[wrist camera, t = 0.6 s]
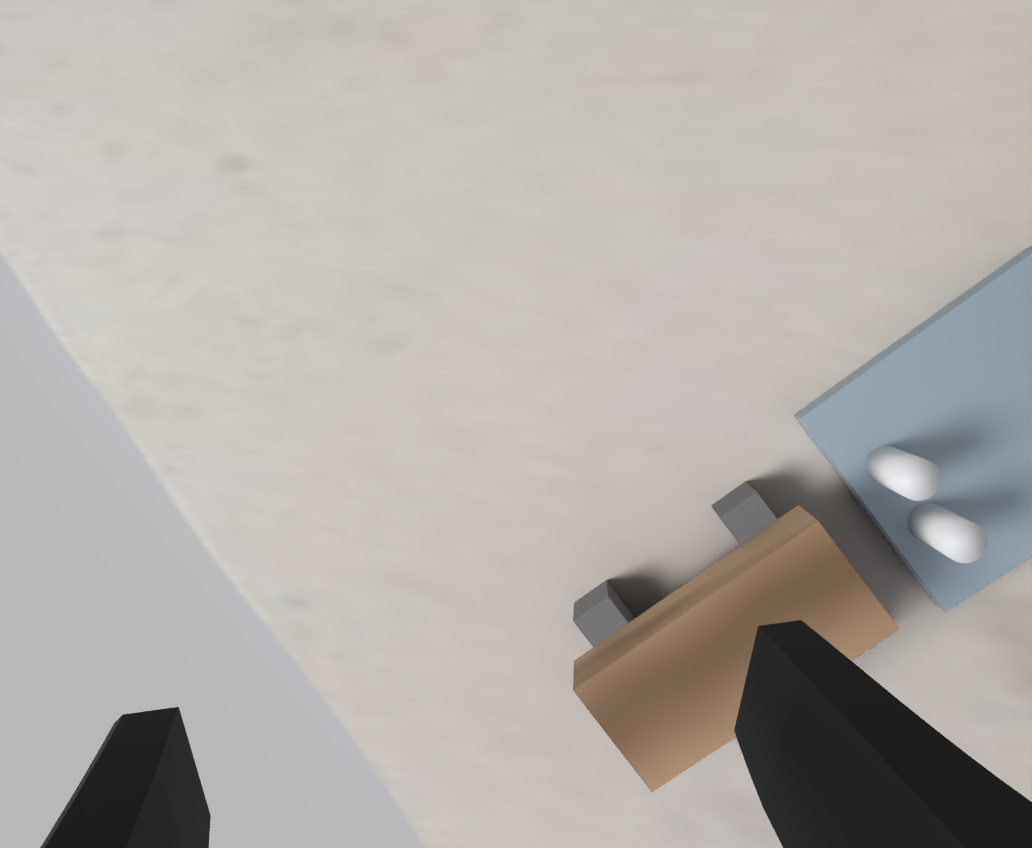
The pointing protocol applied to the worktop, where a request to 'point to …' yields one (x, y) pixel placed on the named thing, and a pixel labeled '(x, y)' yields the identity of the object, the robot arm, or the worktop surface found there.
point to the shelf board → (720, 644)
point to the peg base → (944, 437)
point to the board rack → (607, 610)
